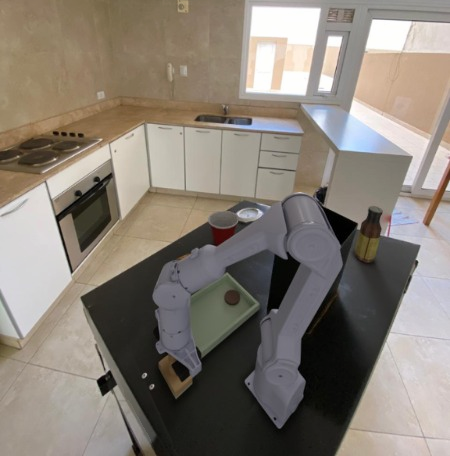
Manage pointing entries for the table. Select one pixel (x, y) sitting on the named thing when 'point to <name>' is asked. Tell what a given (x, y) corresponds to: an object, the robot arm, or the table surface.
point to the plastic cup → (222, 226)
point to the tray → (218, 312)
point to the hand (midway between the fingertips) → (177, 363)
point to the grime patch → (232, 297)
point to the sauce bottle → (369, 235)
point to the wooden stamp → (173, 376)
